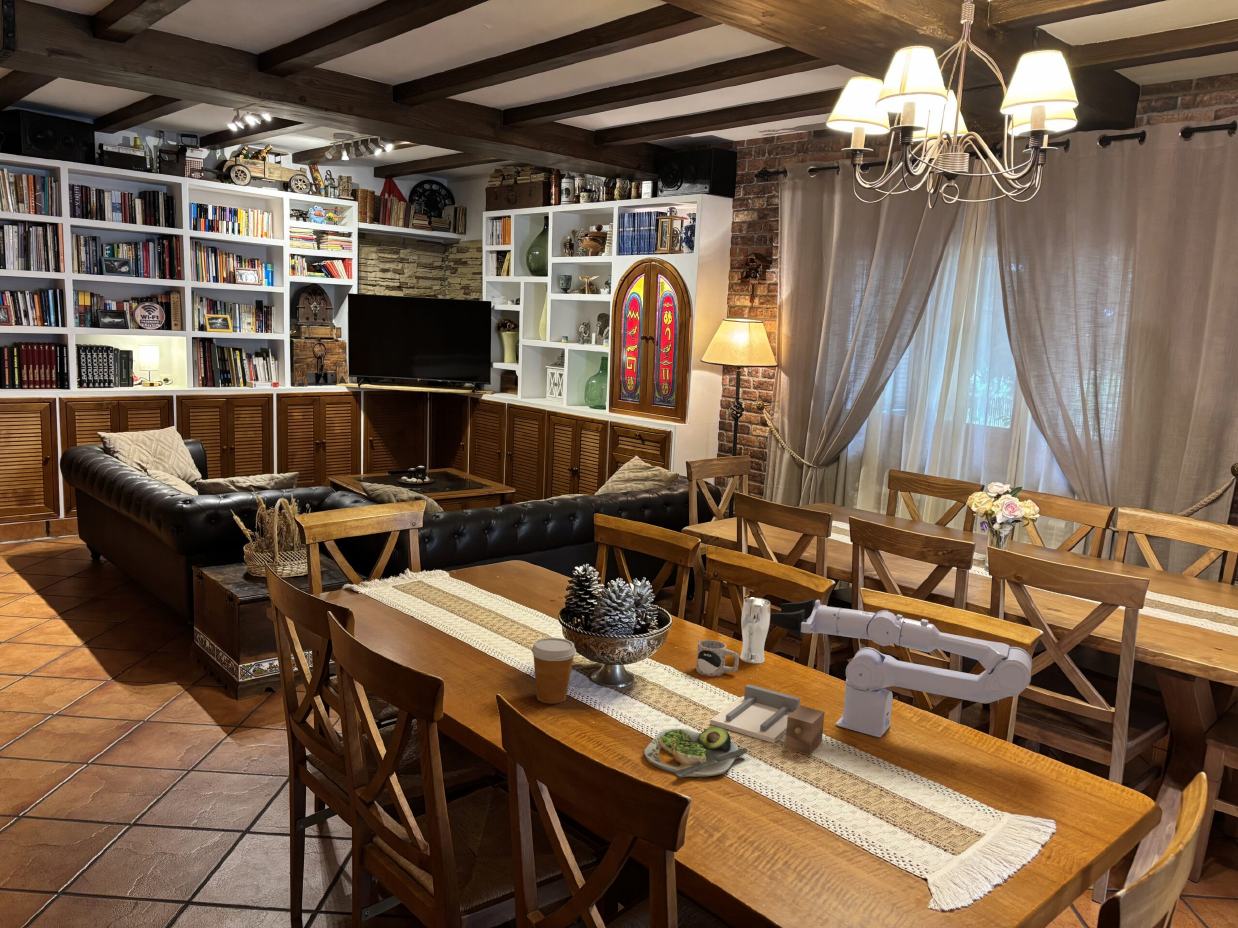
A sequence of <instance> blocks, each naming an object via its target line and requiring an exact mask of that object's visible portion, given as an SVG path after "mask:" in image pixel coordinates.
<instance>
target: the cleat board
mask: <svg viewBox="0 0 1238 928" xmlns="http://www.w3.org/2000/svg"><path fill="white" fill-rule="evenodd" d="M800 700H801V698H800V697H796V696H794V695H793V696H792V695H791V694H787V693H782V692H779V691H774V690H771V689H767V688H765V687H760V686H756V685H752V684H749V683H747V684H746V685H745V686H744V695H743V696H741V697H739V698H738V699H737V700H735V701H733V703H731V704H730V705H729V706H727V707H725V708H724V709H723V710H722V711H720V712H719V713H717V714H716V715H714V716H713V717H712V718H711V719H710V720H709V721H710V722H709V723H710V724H709V725H713V726H714V727H720V728H724V729H725V730H728V731H732V732H736V733H738V734H743V735H745V736H749V737H751V738H755V739H758V740H763V741H765V742H769V743H771V744H775V743H776V742H777V741H778V740H779V739H780V738H782V737H783V736H784V735H786V730H787V718H788V716H789V715H790V714H791V713H792V712H794V711H795V710H796V709H797V708H798V707H799V706H800V703H801V702H800Z"/></svg>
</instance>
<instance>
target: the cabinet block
mask: <svg viewBox="0 0 1238 928" xmlns="http://www.w3.org/2000/svg"><path fill="white" fill-rule="evenodd" d="M824 720H825V711H822V710H819V709H815V708H810V707H807V706H804V705H799V707H798V708H797V709H796V710H795V711H794V712H792V713H791V714H790V715H789V716H788V718H787V730H786V733H785V742H784V743H785V744H784V748H785V749H787V750H790V751H794V752H798V753H801V754H804V755H807V756H810V755H811V754H812V753H813V752H814V751H815V750H816V749H817V748H818V747H819V746H820V745H821V744H823V743H822V741H823V731H824V724H825V723H824Z"/></svg>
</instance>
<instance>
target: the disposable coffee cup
mask: <svg viewBox="0 0 1238 928" xmlns="http://www.w3.org/2000/svg"><path fill="white" fill-rule="evenodd" d="M531 653H532V656H533V662H534V663H533V666H534V680H535V690H536V691H535V692H536V699H537V701H539V702H542V703H544V704H550V705H551V704H560V703H563V702H564V701H566V699H567V694H568V688H569V683H570V679H571V673H572V667H573V661H574V657H575V654H576V653H577V649H576V648H575V643H574V642H573V641H571V640H568V639H565V638H561V637H559V638H558V637H544V638H543V637H542V638H540V639H537V640H535V641H534V643H533V645H532V647H531Z"/></svg>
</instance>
